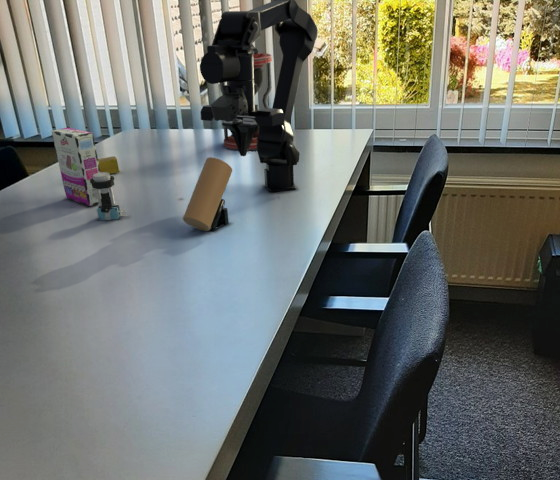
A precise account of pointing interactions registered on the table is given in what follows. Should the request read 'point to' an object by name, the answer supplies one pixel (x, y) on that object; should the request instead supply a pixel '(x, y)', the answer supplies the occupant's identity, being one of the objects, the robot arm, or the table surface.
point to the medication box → (108, 165)
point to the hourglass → (258, 79)
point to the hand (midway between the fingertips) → (243, 155)
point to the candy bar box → (77, 163)
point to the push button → (105, 196)
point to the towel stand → (220, 217)
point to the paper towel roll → (207, 194)
